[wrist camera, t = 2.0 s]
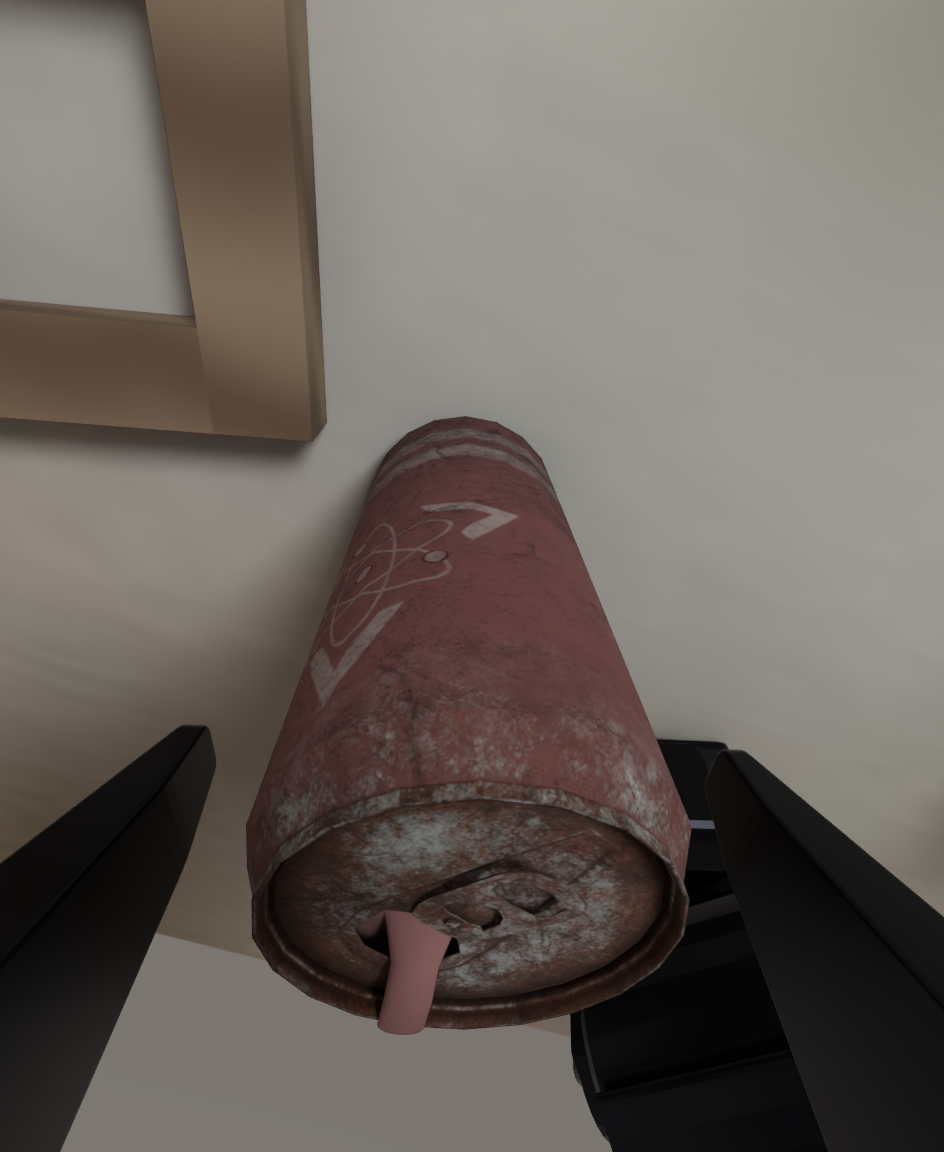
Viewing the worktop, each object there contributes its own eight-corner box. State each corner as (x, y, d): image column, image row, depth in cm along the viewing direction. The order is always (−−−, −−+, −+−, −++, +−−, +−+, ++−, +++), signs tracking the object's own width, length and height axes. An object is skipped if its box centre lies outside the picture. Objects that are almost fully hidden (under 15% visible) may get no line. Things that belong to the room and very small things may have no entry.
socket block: (326, 422, 17) (312, 441, 16) (-109, 387, 16) (-175, 403, 15) (293, -242, 11) (262, -339, 9) (-441, -359, 10) (-632, -488, 8)
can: (363, 567, 20) (220, 1043, 8) (386, 393, 17) (209, 748, 5) (522, 595, 21) (611, 1067, 9) (573, 434, 18) (822, 825, 6)
